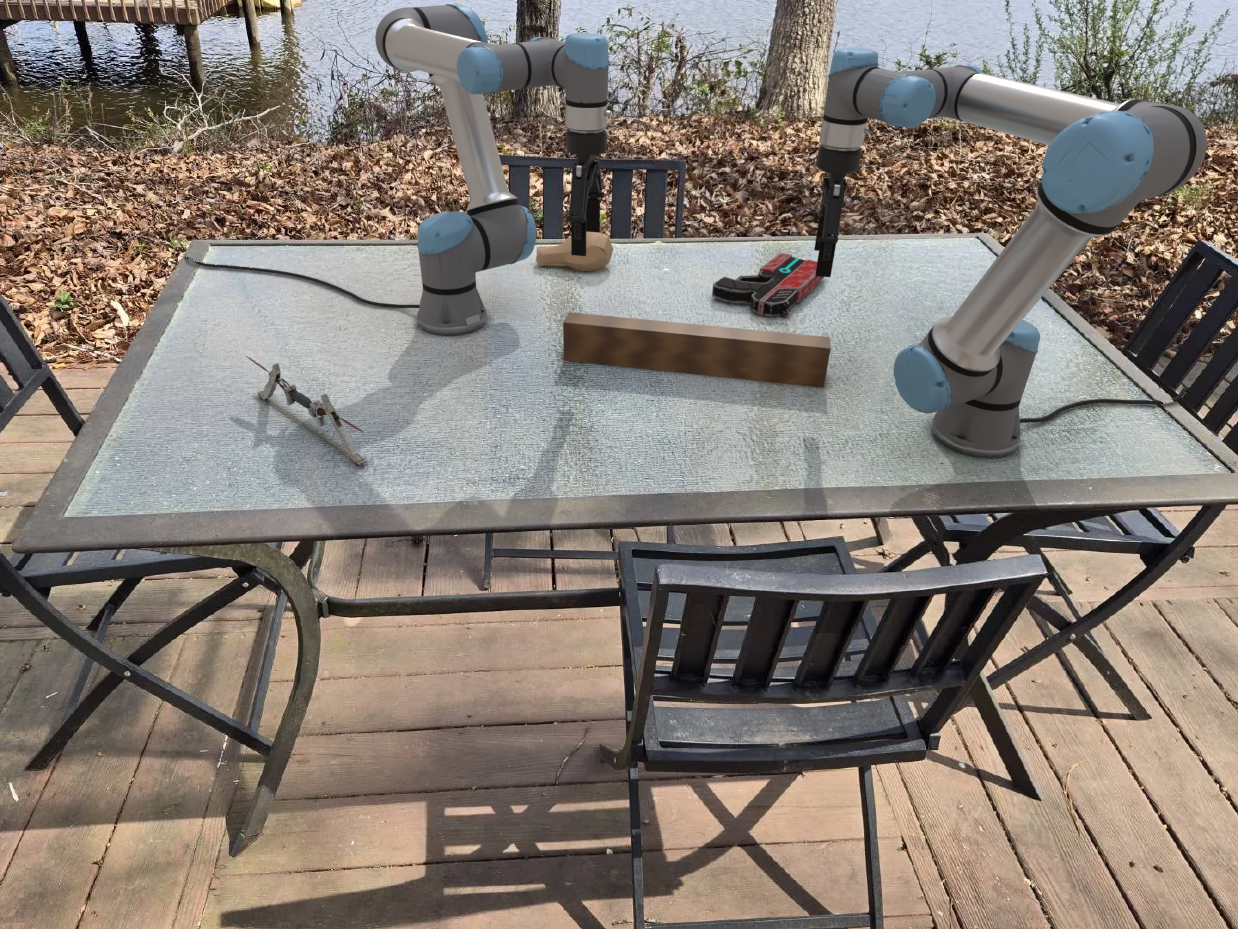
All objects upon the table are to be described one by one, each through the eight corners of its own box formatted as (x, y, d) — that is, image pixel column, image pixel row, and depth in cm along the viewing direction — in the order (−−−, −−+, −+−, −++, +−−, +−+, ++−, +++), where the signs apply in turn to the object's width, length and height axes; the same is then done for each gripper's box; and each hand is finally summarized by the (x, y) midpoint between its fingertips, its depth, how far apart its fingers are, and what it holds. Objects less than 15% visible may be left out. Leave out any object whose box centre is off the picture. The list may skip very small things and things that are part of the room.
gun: (708, 284, 207) (784, 305, 199) (760, 245, 229) (831, 262, 221) (706, 302, 209) (781, 323, 201) (758, 261, 231) (828, 278, 223)
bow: (375, 468, 148) (367, 417, 142) (366, 472, 146) (358, 421, 141) (259, 389, 169) (248, 342, 163) (250, 392, 168) (239, 345, 162)
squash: (614, 275, 223) (610, 243, 217) (537, 282, 224) (531, 251, 218) (615, 253, 231) (611, 222, 224) (540, 260, 232) (534, 229, 226)
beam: (563, 360, 182) (563, 322, 178) (568, 349, 187) (568, 311, 182) (823, 387, 176) (830, 348, 171) (823, 375, 180) (830, 336, 175)
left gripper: (593, 147, 148) (592, 267, 160) (618, 115, 168) (616, 223, 180) (550, 144, 149) (552, 263, 161) (580, 112, 169) (580, 220, 181)
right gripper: (867, 166, 142) (845, 289, 154) (858, 130, 163) (839, 242, 174) (820, 163, 143) (801, 285, 155) (817, 128, 163) (801, 238, 175)
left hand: (586, 243), depth 170 cm, fingers open, 13 cm apart
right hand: (822, 262), depth 165 cm, fingers open, 13 cm apart
